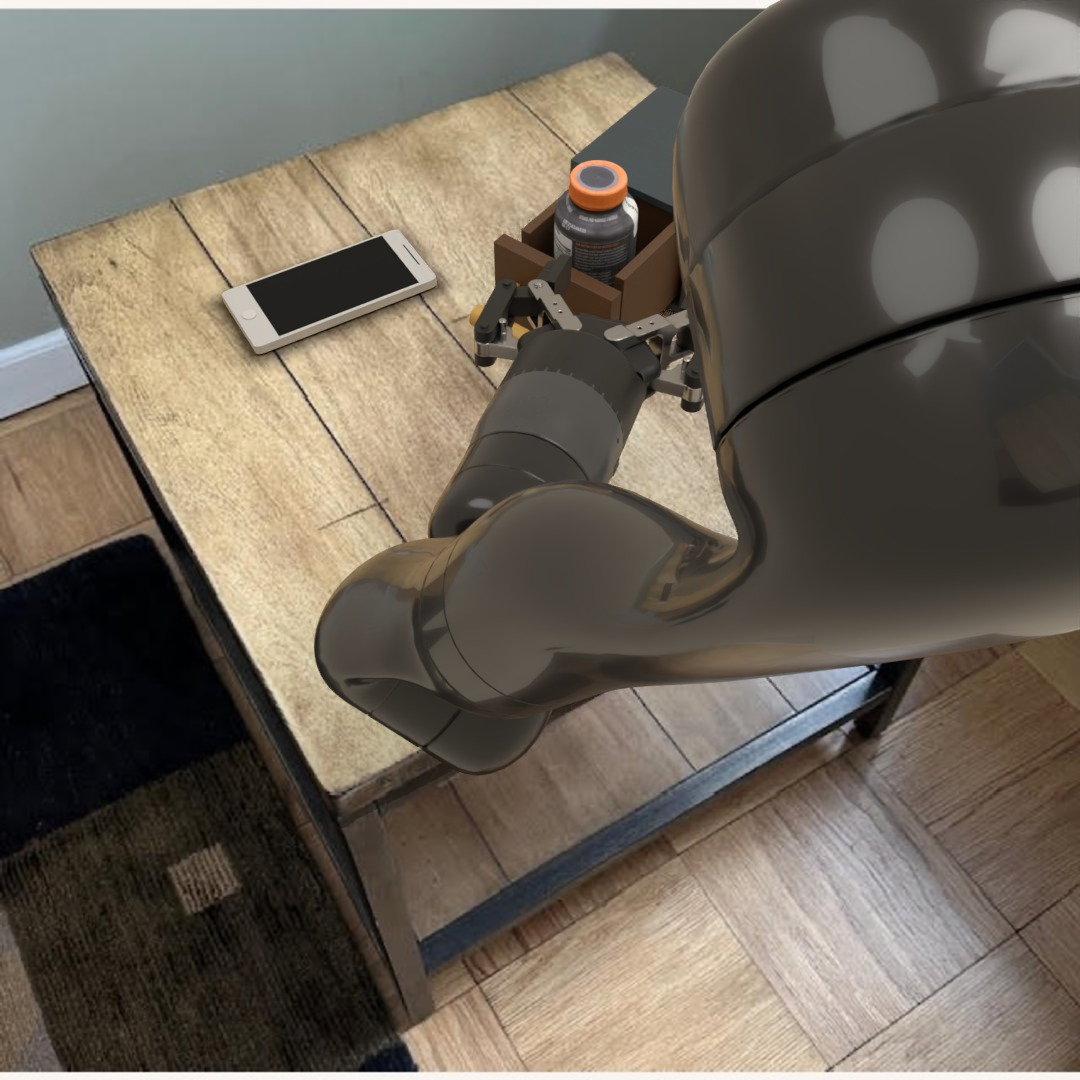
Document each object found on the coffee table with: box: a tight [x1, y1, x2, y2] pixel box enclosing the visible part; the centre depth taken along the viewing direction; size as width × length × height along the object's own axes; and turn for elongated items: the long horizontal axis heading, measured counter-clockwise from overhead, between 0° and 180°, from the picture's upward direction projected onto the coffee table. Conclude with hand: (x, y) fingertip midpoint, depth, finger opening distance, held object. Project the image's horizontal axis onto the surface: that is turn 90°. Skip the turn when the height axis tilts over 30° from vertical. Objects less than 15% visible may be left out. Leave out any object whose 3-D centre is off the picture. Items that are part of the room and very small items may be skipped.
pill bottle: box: [554, 160, 638, 288], centre depth 79 cm, size 6×6×11 cm
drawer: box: [468, 195, 682, 339], centre depth 81 cm, size 16×10×8 cm, turn 143°
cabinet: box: [569, 84, 690, 314], centre depth 87 cm, size 12×11×9 cm
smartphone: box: [221, 229, 438, 355], centre depth 86 cm, size 7×16×1 cm, turn 121°
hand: (630, 280), depth 69 cm, fingers open, 8 cm apart
